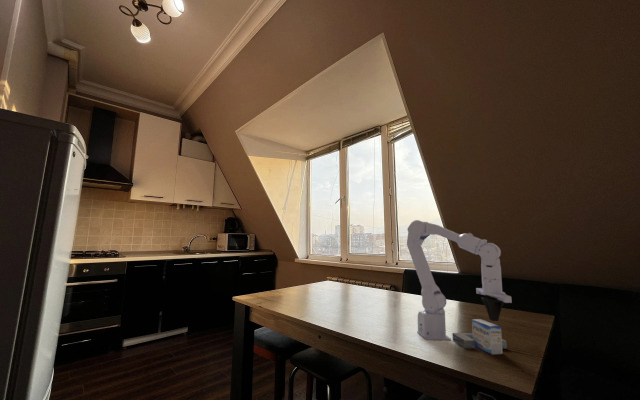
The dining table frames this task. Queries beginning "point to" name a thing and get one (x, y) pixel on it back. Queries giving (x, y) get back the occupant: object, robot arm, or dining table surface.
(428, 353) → the dining table surface
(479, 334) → the medicine box
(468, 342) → the grey flat block
